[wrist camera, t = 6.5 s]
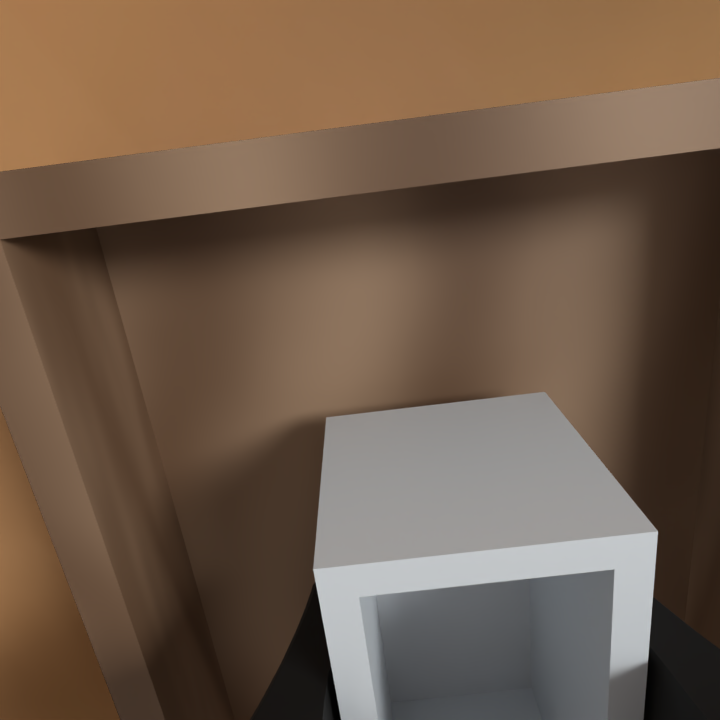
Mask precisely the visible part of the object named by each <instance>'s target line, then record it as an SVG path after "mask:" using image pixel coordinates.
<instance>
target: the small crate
mask: <svg viewBox="0 0 720 720" xmlns="http://www.w3.org/2000/svg"><path fill="white" fill-rule="evenodd" d="M657 539H658V531H657V529H656V528H655V527H654V526H653V524H652V523H651V522H650V521H649V520H648V518H647V517H646V516H645V515H644V513H643V512H642V511H641V510H640V508H639V507H638V506H637V505H636V504H635V502H634V501H633V500H632V499H631V497H630V496H629V495H628V494H627V492H626V491H625V490H624V489H623V487H622V486H621V485H620V484H619V483H618V481H617V480H616V479H615V478H614V476H613V475H612V474H611V473H610V471H609V470H608V469H607V468H606V467H605V465H604V464H603V463H602V462H601V460H600V459H599V458H598V457H597V455H596V454H595V453H594V452H593V450H592V449H591V448H590V447H589V446H588V444H587V443H586V442H585V441H584V439H583V438H582V437H581V436H580V434H579V433H578V432H577V431H576V429H575V428H574V427H573V426H572V425H571V423H570V422H569V421H568V420H567V418H566V417H565V416H564V415H563V413H562V412H561V411H560V410H559V409H558V407H557V406H556V405H555V404H554V402H553V401H552V400H551V399H550V397H549V396H548V395H547V394H546V392H539V393H530V394H522V395H513V396H504V397H496V398H487V399H479V400H470V401H462V402H453V403H445V404H436V405H428V406H419V407H410V408H402V409H393V410H385V411H376V412H368V413H359V414H351V415H342V416H334V417H326V426H325V438H324V449H323V461H322V473H321V484H320V496H319V508H318V519H317V531H316V543H315V554H314V566H313V571H314V576H315V582H316V587H317V593H318V598H319V603H320V609H321V614H322V619H323V625H324V630H325V636H326V641H327V646H328V652H329V657H330V663H331V668H332V673H333V679H334V684H335V690H336V695H337V700H338V706H339V711H340V717H341V720H643V719H644V706H645V694H646V681H647V668H648V655H649V642H650V629H651V616H652V603H653V590H654V577H655V564H656V552H657Z"/></svg>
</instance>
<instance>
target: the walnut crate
mask: <svg viewBox="0 0 720 720" xmlns="http://www.w3.org/2000/svg"><path fill="white" fill-rule="evenodd" d="M539 392H546V394H547V395H548V396H549V397H550V399H551V400H552V401H553V402H554V404H555V405H556V406H557V407H558V409H559V410H560V411H561V412H562V413H563V415H564V416H565V417H566V418H567V420H568V421H569V422H570V423H571V425H572V426H573V427H574V428H575V429H576V431H577V432H578V433H579V434H580V436H581V437H582V438H583V439H584V441H585V442H586V443H587V444H588V446H589V447H590V448H591V449H592V450H593V452H594V453H595V454H596V455H597V457H598V458H599V459H600V460H601V462H602V463H603V464H604V465H605V467H606V468H607V469H608V470H609V471H610V473H611V474H612V475H613V476H614V478H615V479H616V480H617V481H618V483H619V484H620V485H621V486H622V487H623V489H624V490H625V491H626V492H627V494H628V495H629V496H630V497H631V499H632V500H633V501H634V502H635V504H636V505H637V506H638V507H639V508H640V510H641V511H642V512H643V513H644V515H645V516H646V517H647V518H648V520H649V521H650V522H651V523H652V524H653V526H654V527H655V528H656V529H657V531H658V539H657V552H656V564H655V577H654V590H653V597H654V598H656V599H657V600H658V601H659V602H660V603H662V604H663V605H664V606H665V607H666V608H668V609H669V610H670V611H671V612H673V613H674V614H675V615H676V616H678V617H679V618H680V619H681V620H683V621H684V622H685V623H686V624H687V625H689V626H690V627H691V628H693V629H694V630H695V631H697V632H698V633H699V634H700V635H702V636H703V637H704V638H706V639H707V640H708V641H710V642H711V643H712V644H714V645H715V646H717V647H718V648H719V649H720V78H717V79H709V80H702V81H694V82H686V83H679V84H671V85H663V86H655V87H648V88H640V89H632V90H625V91H617V92H609V93H602V94H594V95H586V96H579V97H571V98H563V99H556V100H548V101H540V102H532V103H525V104H517V105H509V106H502V107H494V108H486V109H479V110H471V111H463V112H456V113H448V114H440V115H432V116H425V117H417V118H409V119H402V120H394V121H386V122H379V123H371V124H363V125H356V126H348V127H340V128H333V129H325V130H317V131H309V132H302V133H294V134H286V135H279V136H271V137H263V138H256V139H248V140H240V141H233V142H225V143H217V144H210V145H202V146H194V147H186V148H179V149H171V150H163V151H156V152H148V153H140V154H133V155H125V156H117V157H110V158H102V159H94V160H86V161H79V162H71V163H63V164H56V165H48V166H40V167H33V168H25V169H17V170H10V171H2V172H0V407H1V410H2V412H3V415H4V417H5V420H6V423H7V425H8V428H9V430H10V433H11V436H12V438H13V441H14V443H15V446H16V449H17V451H18V454H19V456H20V459H21V462H22V464H23V467H24V470H25V472H26V475H27V477H28V480H29V483H30V485H31V488H32V490H33V493H34V496H35V498H36V501H37V503H38V506H39V509H40V511H41V514H42V516H43V519H44V522H45V524H46V527H47V529H48V532H49V535H50V537H51V540H52V542H53V545H54V548H55V550H56V553H57V555H58V558H59V561H60V563H61V566H62V569H63V571H64V574H65V576H66V579H67V582H68V584H69V587H70V589H71V592H72V595H73V597H74V600H75V602H76V605H77V608H78V610H79V613H80V615H81V618H82V621H83V623H84V626H85V628H86V631H87V634H88V636H89V639H90V641H91V644H92V647H93V649H94V652H95V654H96V657H97V660H98V662H99V665H100V668H101V670H102V673H103V675H104V678H105V681H106V683H107V686H108V688H109V691H110V694H111V696H112V699H113V701H114V704H115V707H116V709H117V712H118V714H119V717H120V720H250V718H251V717H252V715H253V713H254V712H255V710H256V708H257V707H258V705H259V703H260V701H261V700H262V698H263V696H264V694H265V692H266V690H267V689H268V687H269V685H270V683H271V681H272V679H273V677H274V675H275V674H276V672H277V670H278V668H279V666H280V664H281V662H282V660H283V658H284V656H285V653H286V651H287V649H288V647H289V645H290V643H291V640H292V638H293V636H294V634H295V632H296V629H297V627H298V625H299V622H300V620H301V617H302V615H303V612H304V610H305V607H306V604H307V602H308V599H309V596H310V593H311V589H312V586H313V584H314V583H315V576H314V571H313V566H314V554H315V543H316V531H317V519H318V508H319V496H320V484H321V473H322V461H323V449H324V438H325V426H326V417H334V416H342V415H351V414H359V413H368V412H376V411H385V410H393V409H402V408H410V407H419V406H428V405H436V404H445V403H453V402H462V401H470V400H479V399H487V398H496V397H504V396H513V395H522V394H530V393H539Z"/></svg>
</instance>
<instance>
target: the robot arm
mask: <svg viewBox="0 0 720 720" xmlns="http://www.w3.org/2000/svg"><path fill="white" fill-rule="evenodd" d="M250 720H341V717H340V711H339V706H338V700H337V695H336V690H335V684H334V679H333V673H332V668H331V663H330V657H329V652H328V646H327V641H326V636H325V630H324V625H323V619H322V614H321V609H320V603H319V598H318V593H317V587H316V582H315V583H314V584H313V586H312V589H311V593H310V596H309V599H308V602H307V604H306V607H305V610H304V612H303V615H302V617H301V620H300V622H299V625H298V627H297V629H296V632H295V634H294V636H293V638H292V640H291V643H290V645H289V647H288V649H287V651H286V653H285V656H284V658H283V660H282V662H281V664H280V666H279V668H278V670H277V672H276V674H275V675H274V677H273V679H272V681H271V683H270V685H269V687H268V689H267V690H266V692H265V694H264V696H263V698H262V700H261V701H260V703H259V705H258V707H257V708H256V710H255V712H254V713H253V715H252V717H251V718H250ZM643 720H720V649H719V648H718V647H717V646H715V645H714V644H712V643H711V642H710V641H708V640H707V639H706V638H704V637H703V636H702V635H700V634H699V633H698V632H697V631H695V630H694V629H693V628H691V627H690V626H689V625H687V624H686V623H685V622H684V621H683V620H681V619H680V618H679V617H678V616H676V615H675V614H674V613H673V612H671V611H670V610H669V609H668V608H666V607H665V606H664V605H663V604H662V603H660V602H659V601H658V600H657V599H656V598H654V597H653V603H652V616H651V629H650V642H649V655H648V668H647V681H646V694H645V706H644V719H643Z"/></svg>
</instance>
